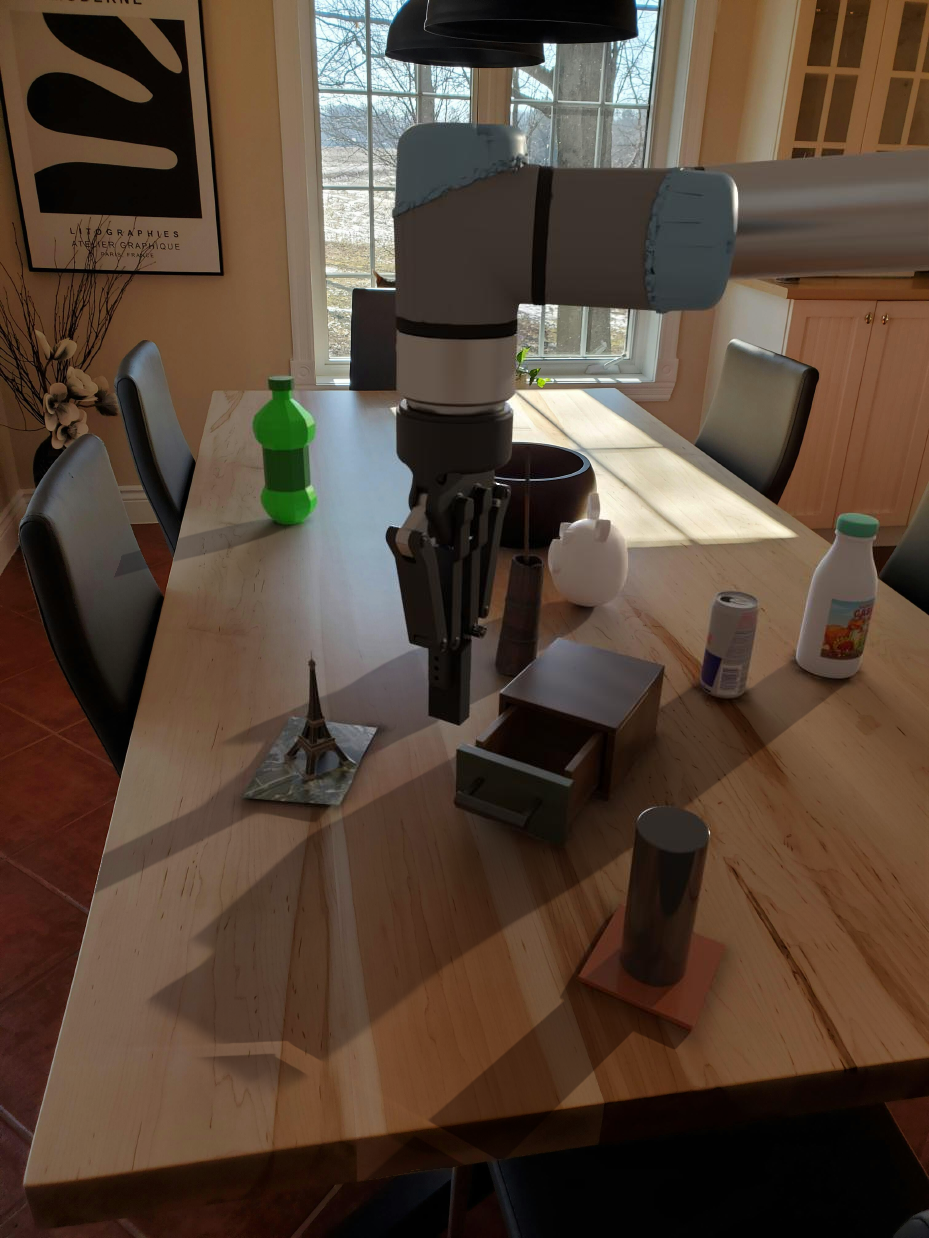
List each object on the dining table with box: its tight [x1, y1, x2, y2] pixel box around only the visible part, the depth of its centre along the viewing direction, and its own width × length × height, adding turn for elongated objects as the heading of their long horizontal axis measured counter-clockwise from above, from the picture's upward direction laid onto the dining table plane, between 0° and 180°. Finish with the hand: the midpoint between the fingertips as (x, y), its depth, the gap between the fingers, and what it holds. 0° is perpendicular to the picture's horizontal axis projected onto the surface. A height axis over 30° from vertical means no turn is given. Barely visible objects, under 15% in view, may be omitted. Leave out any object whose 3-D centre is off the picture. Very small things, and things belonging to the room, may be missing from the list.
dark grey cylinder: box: [620, 805, 711, 986], centre depth 68 cm, size 5×5×13 cm
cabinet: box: [497, 637, 666, 802], centre depth 96 cm, size 15×13×9 cm
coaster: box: [577, 903, 727, 1032], centre depth 71 cm, size 9×9×1 cm
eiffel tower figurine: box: [242, 650, 378, 806], centre depth 91 cm, size 15×10×13 cm
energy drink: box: [699, 590, 761, 699], centre depth 107 cm, size 5×5×12 cm
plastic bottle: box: [252, 374, 318, 525], centre depth 156 cm, size 10×10×25 cm
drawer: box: [453, 704, 608, 849], centre depth 86 cm, size 18×11×7 cm, turn 150°
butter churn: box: [494, 445, 545, 677], centre depth 107 cm, size 9×10×28 cm
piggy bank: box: [547, 492, 629, 607], centre depth 128 cm, size 12×12×15 cm
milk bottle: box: [795, 512, 880, 679], centre depth 111 cm, size 8×8×20 cm
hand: (448, 715), depth 67 cm, fingers closed
